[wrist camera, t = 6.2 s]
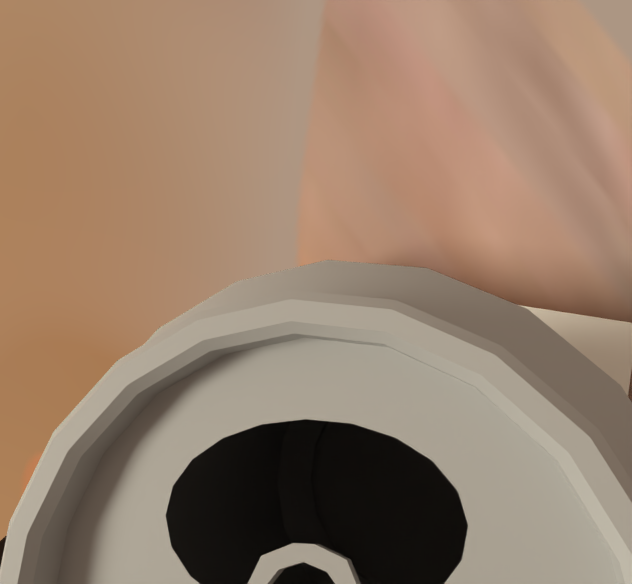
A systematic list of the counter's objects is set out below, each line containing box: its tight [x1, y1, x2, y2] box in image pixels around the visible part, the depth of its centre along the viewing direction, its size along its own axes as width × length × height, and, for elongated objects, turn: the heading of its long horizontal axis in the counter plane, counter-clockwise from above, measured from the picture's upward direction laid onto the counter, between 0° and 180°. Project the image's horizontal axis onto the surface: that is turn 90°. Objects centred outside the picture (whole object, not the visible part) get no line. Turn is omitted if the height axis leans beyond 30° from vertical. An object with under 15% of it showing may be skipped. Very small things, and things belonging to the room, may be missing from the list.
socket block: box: [519, 305, 632, 396], centre depth 18 cm, size 10×10×3 cm
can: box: [0, 260, 632, 584], centre depth 10 cm, size 8×8×12 cm
